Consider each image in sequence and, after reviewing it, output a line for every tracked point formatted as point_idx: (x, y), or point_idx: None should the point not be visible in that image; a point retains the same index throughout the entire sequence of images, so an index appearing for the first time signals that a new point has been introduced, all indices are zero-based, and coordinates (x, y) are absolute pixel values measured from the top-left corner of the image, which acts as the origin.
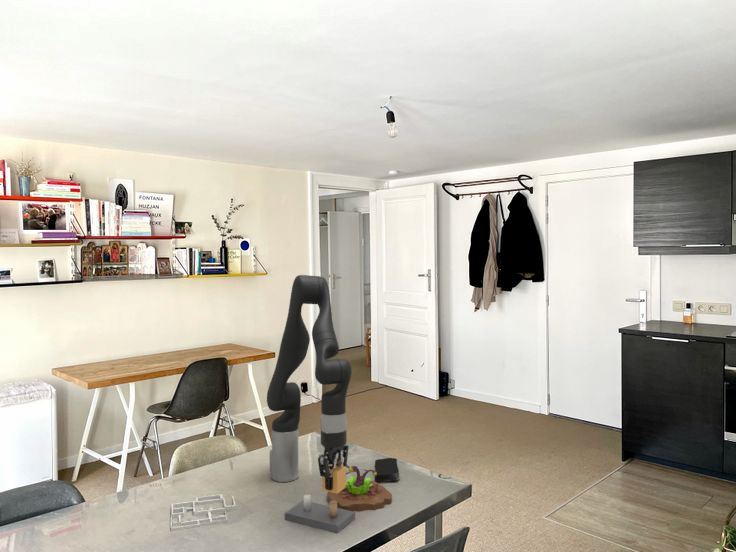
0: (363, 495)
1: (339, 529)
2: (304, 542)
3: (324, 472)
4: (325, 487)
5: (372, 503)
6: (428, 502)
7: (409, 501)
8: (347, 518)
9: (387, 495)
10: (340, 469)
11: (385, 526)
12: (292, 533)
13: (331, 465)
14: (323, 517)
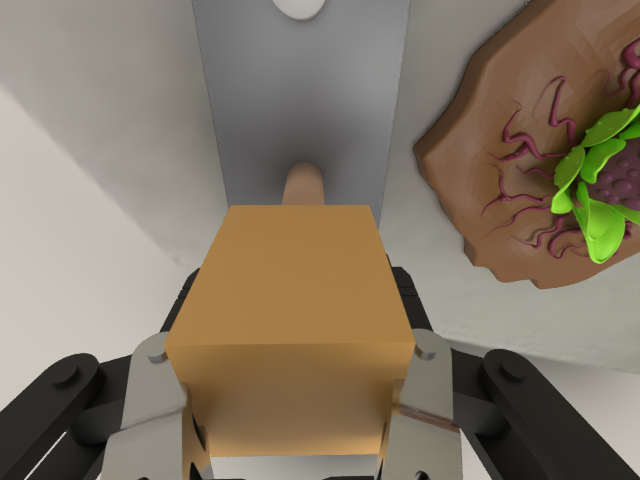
0: (546, 208)
1: None
2: (93, 151)
3: (69, 429)
4: (194, 273)
5: (479, 258)
6: (551, 348)
7: (556, 311)
8: None
9: (565, 276)
10: (299, 450)
11: None
12: (100, 45)
13: (378, 360)
14: (263, 148)
